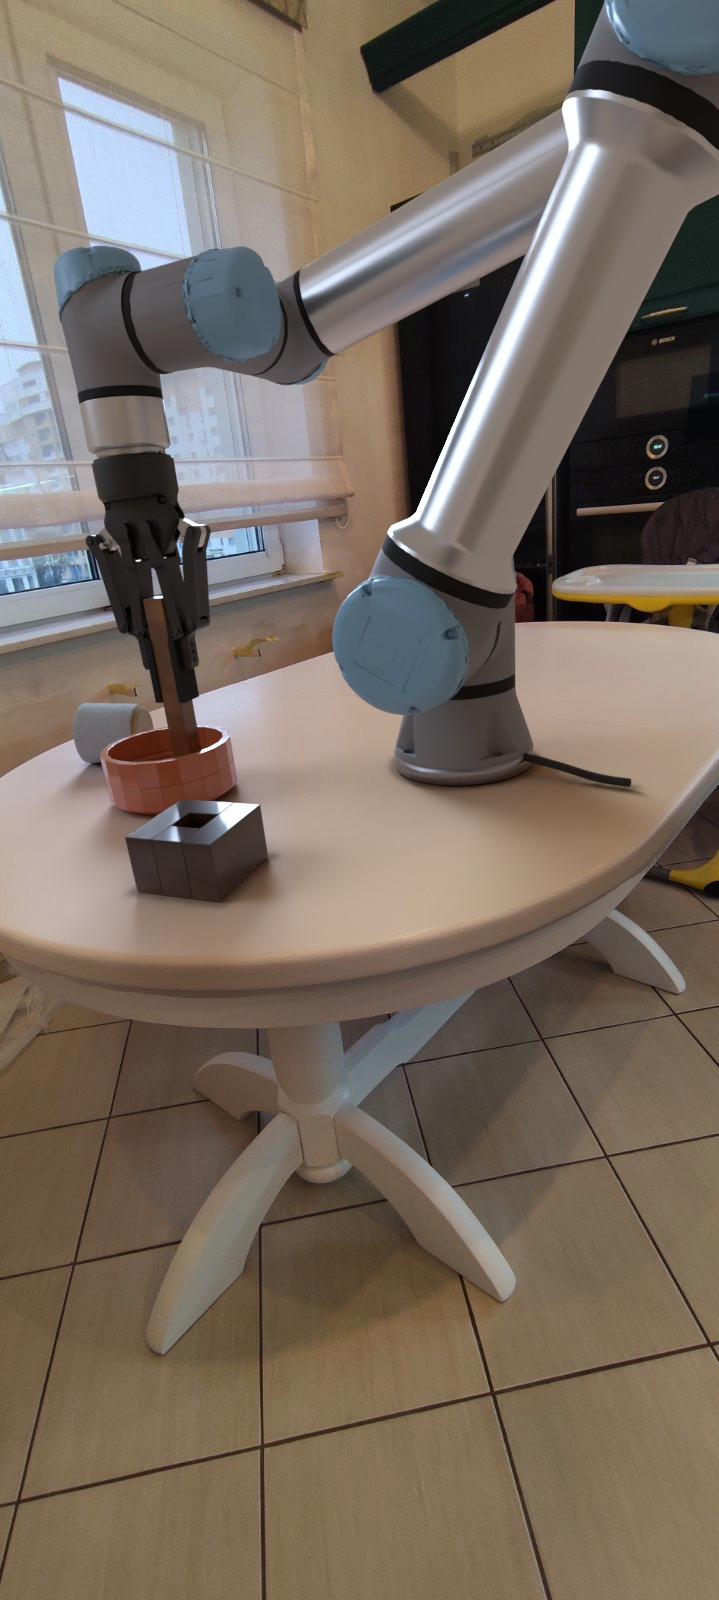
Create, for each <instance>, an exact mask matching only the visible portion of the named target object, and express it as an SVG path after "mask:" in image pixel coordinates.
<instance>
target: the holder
mask: <svg viewBox="0 0 719 1600" xmlns="http://www.w3.org/2000/svg"><path fill="white" fill-rule="evenodd" d="M124 839H125V840H124V841H125V843H126V844H125V845H126V848H127V852H128V857H129V861H130V865H131V870H132V875H133V879H134V883H135V887H136V892H138V893H145V894H153V895H160V896H161V895H162V896H167V897H176V898H184V899H189V900H190V899H191V900H193V899H194V900H200V901H209V902H216V903H221V902H222V901H224V900H225V899H226V898H227V897H228V896H229V895H230V894H231V893H232V892H233V891H235V889H236V888H237V887H238V886H239V885H240V884H242V883H243V882H244V881H245V880H246V879H247V878H248V877H249V876H250V875H251V874H252V873H253V872H254V871H255V870H256V869H257V868H258V867H259V866H260V865H261V864H263V862H265V861H266V860H267V859H268V858H269V853H268V846H267V840H266V832H265V826H264V820H263V813H262V807H261V804H256V803H255V804H254V803H241V802H227V801H216V800H214V801H200V800H186V799H181V800H180V801H178V802H177V803H175V804H174V805H172V806H171V807H169V808H168V809H166V810H165V811H163V812H162V813H160V814H156V815H155V816H154V817H153V818H151V819H150V820H148V821H146V822H144V824H142V825H140V826H139V827H138V828H136V829H135V830H133V831H132V832H130V833H128V834H126V835H125V836H124Z"/></svg>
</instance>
